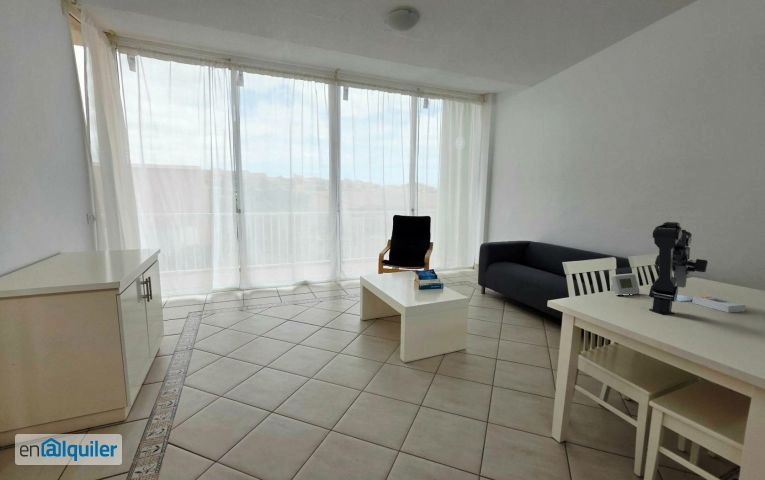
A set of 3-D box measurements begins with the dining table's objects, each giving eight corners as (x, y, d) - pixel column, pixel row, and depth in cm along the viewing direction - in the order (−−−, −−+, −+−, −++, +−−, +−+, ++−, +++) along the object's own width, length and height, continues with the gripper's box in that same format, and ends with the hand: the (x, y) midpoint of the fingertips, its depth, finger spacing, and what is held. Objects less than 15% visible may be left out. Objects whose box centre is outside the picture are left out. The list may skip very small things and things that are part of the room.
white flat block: (727, 312, 143) (729, 304, 143) (692, 302, 157) (693, 295, 157) (744, 311, 145) (746, 303, 145) (708, 301, 159) (709, 294, 159)
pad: (680, 301, 159) (681, 300, 159) (659, 295, 168) (660, 294, 168) (696, 300, 161) (697, 299, 160) (675, 294, 170) (675, 293, 170)
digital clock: (616, 297, 166) (618, 276, 165) (603, 292, 175) (604, 273, 174) (645, 296, 168) (647, 276, 167) (630, 291, 177) (632, 272, 175)
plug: (683, 287, 161) (686, 260, 159) (673, 285, 164) (676, 258, 162) (685, 286, 163) (688, 259, 162) (675, 284, 166) (678, 258, 165)
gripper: (710, 243, 151) (710, 263, 159) (658, 239, 166) (661, 258, 174) (705, 261, 147) (705, 281, 155) (653, 256, 162) (656, 274, 170)
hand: (681, 273), depth 164 cm, fingers closed on plug, 4 cm apart
